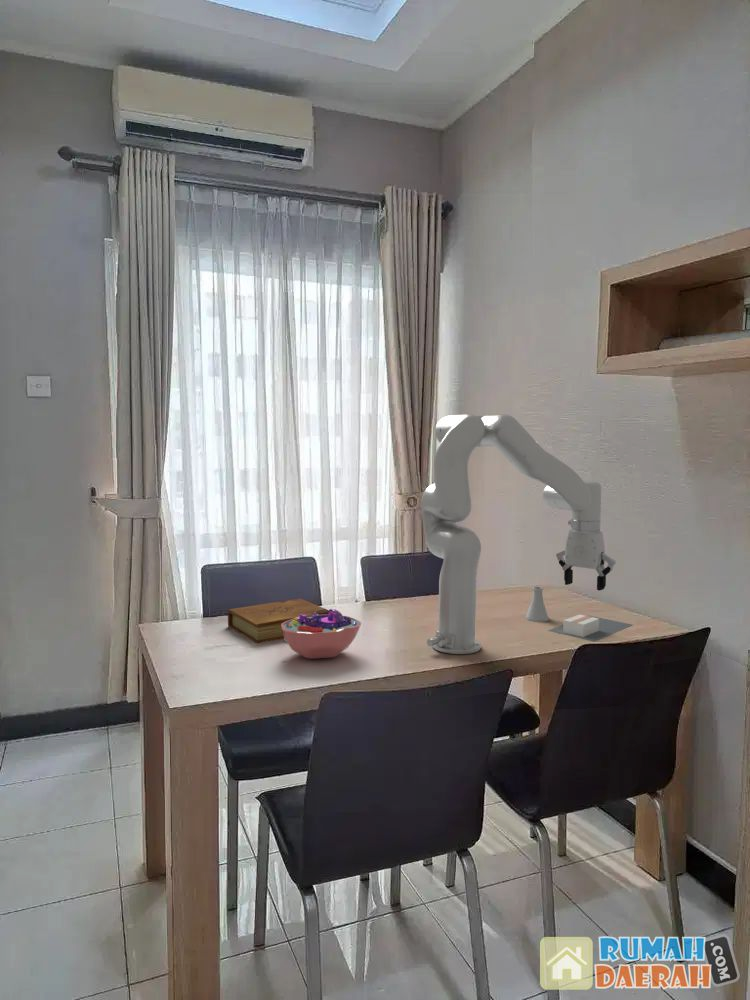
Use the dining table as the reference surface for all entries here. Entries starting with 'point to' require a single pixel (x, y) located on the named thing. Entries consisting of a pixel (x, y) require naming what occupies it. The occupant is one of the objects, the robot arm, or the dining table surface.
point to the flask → (537, 607)
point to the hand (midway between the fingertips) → (584, 586)
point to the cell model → (320, 634)
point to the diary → (269, 618)
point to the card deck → (581, 625)
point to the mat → (605, 629)
